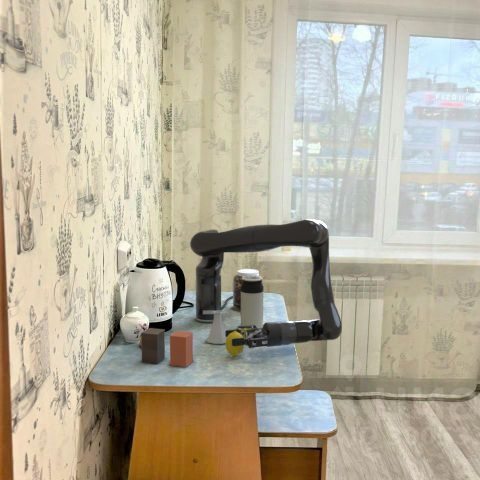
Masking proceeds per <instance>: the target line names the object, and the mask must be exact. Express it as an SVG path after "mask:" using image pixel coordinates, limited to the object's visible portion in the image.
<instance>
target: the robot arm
mask: <svg viewBox="0 0 480 480" xmlns="http://www.w3.org/2000/svg"><path fill="white" fill-rule="evenodd" d="M189 246H190V249H191V251H192V253H194V254H195V255H196V256H198V257H201V260H200V261H199V263H198V264H197V265H196V266H195V321H196V322H199V323H207V324H208V323H209V324H210V323H213V321H214V314H213V311H218V310H220V311H223V309H224V308H225V307H226V305H227V304H228V301H230V300H231V299H233V295H231V296H229V297H227V298H226V300H225V302H224V304H223V305H222V270H223V266H224V261H225V260H224V259H225V254H226V253H231V254H232V253H236V254H239V253H240V254H241V253H242V254H244V253H246V254H247V253H260V252H261V253H262V252H268V251H272V250H275V249H279V248H282V247H301V248H309V252H310V255H311V274H310V275H311V276H310V293H311V299H312V305H313V309H314V310H315V311H316V312H317V313H318V317H319V319H318V318H317V319H311V320H305V319H304V320H303V319H302V320H279V321H267V322H263V327H262V328H260V329H258V328H256V325H250V326H241V325H238V326H237V328H234V329H225V336H226V337H227V336H228V335H229V334H230V333H232V332H234V331H236V332H238V333H240V334H241V335H242V337H243V338H233V339H232V346H242V345H244V347H248V348H249V349H253V348H261V347H263V348H264V347H266V348H272V347H280V346H289V345H295V344H304V343H308V342H320V341H321V342H322V341H335V340H337V339H338V338H340V336H341V334H342V332H343V323H342V319H341V316H340V314H339V311H338V308H337V306H336V303H335V295H334V289H333V283H332V276H331V267H330V266H331V263H330V234H329V229H328V226H327V225H326V223H324V222H323V221H321V220H317V219H311V218H306V219H301V220H297V221H293V222H288V223H283V224H271V223H270V224H269V223H268V224H267V223H266V224H255V225H253V224H252V225H247V226H241V227H237V228H232V229H230V230H225V231H219V230H217V229H215V228H214V229H213V228H212V229H205V230H201V231H200V230H199V231H198V232H196V233H195V234H193V236H192V237H191V239H190V242H189Z"/></svg>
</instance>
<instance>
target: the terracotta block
mask: <svg viewBox="0 0 480 480" xmlns="http://www.w3.org/2000/svg"><path fill="white" fill-rule="evenodd" d="M193 333H194V332H193V331H184V330H176V331H174V332H173V333H171V334H170V335H169V361H170V362H169V366H172V367H173V366H174V367H182V368H187V367H188V366H189V365H191V364H192V363H193V362H194V344H193V343H194V341H193V340H194V334H193Z"/></svg>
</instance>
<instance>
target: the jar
mask: <svg viewBox="0 0 480 480" xmlns="http://www.w3.org/2000/svg"><path fill="white" fill-rule="evenodd" d="M248 275H256V276H261V274H259V270H258V269H255V268H254V269H253V268H242V269H238V270H237V274H234V276H233V280H232V281H233V282H232V296H233V298H232V309H233V310H235V311H237V312H241V285H242V284H243V280H242V277H243V276H248ZM261 277H263V276H261ZM263 280H264V279H262V285H263V286H264V284H263V282H264V281H263Z"/></svg>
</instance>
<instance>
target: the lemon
mask: <svg viewBox="0 0 480 480" xmlns="http://www.w3.org/2000/svg"><path fill="white" fill-rule="evenodd" d="M233 338H243V337H242V335H241V334H240V333H238V332H236V331H234V332H232V333H230V334H229V335H228V336H227V339H226V343H225V349H226V351H227V352H228V354H229V355H232V356H233V357H237V356H238V355H240V354H241V353H242V352H243V350H244V347H245V345H242V346H232V339H233Z"/></svg>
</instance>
